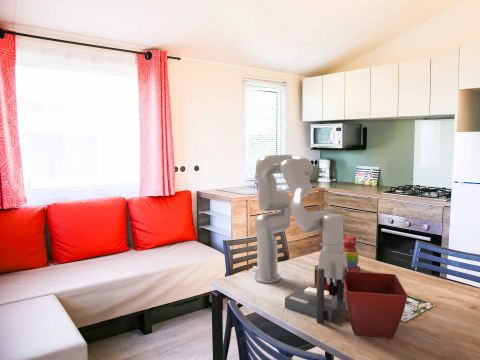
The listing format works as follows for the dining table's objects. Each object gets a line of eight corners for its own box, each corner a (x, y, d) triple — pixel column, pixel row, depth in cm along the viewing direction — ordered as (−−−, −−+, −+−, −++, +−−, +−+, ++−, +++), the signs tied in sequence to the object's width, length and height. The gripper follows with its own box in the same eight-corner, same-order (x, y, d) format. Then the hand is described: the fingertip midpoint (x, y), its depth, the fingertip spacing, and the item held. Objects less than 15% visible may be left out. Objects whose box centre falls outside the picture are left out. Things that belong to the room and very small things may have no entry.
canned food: (333, 295, 157) (333, 270, 156) (314, 294, 159) (314, 269, 158) (332, 288, 165) (333, 264, 163) (314, 287, 166) (314, 263, 165)
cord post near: (315, 322, 135) (315, 269, 132) (318, 319, 137) (319, 267, 134) (321, 324, 133) (322, 271, 131) (324, 321, 135) (325, 269, 133)
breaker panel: (284, 307, 147) (284, 293, 146) (301, 296, 157) (301, 283, 156) (331, 323, 134) (331, 307, 134) (346, 309, 144) (346, 295, 144)
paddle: (303, 293, 146) (303, 289, 146) (308, 289, 149) (308, 286, 149) (332, 299, 138) (331, 295, 138) (336, 295, 141) (336, 292, 141)
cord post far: (335, 305, 148) (336, 257, 145) (338, 303, 150) (339, 255, 147) (341, 307, 146) (342, 258, 144) (344, 305, 148) (345, 257, 146)
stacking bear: (360, 268, 189) (361, 234, 187) (358, 275, 180) (359, 239, 178) (339, 265, 194) (340, 232, 192) (335, 272, 184) (336, 237, 182)
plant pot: (406, 345, 119) (408, 295, 118) (345, 339, 123) (346, 291, 121) (393, 317, 138) (395, 273, 136) (341, 313, 142) (341, 270, 140)
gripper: (310, 246, 140) (310, 293, 142) (348, 252, 130) (348, 302, 132) (319, 242, 146) (319, 287, 147) (356, 247, 136) (356, 296, 138)
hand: (333, 294), depth 140 cm, fingers closed
